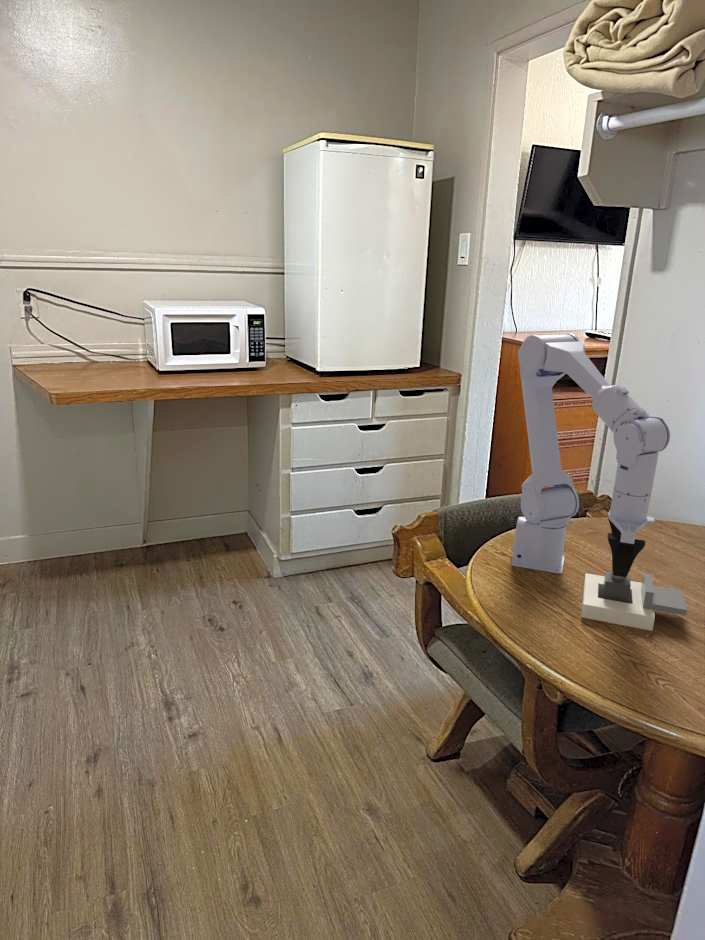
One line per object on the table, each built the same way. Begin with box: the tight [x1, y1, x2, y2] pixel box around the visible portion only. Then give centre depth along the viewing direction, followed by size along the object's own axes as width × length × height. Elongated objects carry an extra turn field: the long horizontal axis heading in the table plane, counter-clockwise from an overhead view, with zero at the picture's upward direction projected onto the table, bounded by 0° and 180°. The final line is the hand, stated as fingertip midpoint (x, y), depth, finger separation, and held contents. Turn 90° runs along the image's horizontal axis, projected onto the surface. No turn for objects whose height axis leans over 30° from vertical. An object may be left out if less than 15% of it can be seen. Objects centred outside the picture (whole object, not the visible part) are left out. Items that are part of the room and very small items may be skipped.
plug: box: [600, 570, 631, 603], centre depth 115 cm, size 4×4×7 cm
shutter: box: [641, 572, 688, 616], centre depth 113 cm, size 6×7×3 cm
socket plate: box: [581, 572, 656, 632], centre depth 116 cm, size 11×12×2 cm
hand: (619, 565), depth 114 cm, fingers open, 7 cm apart
